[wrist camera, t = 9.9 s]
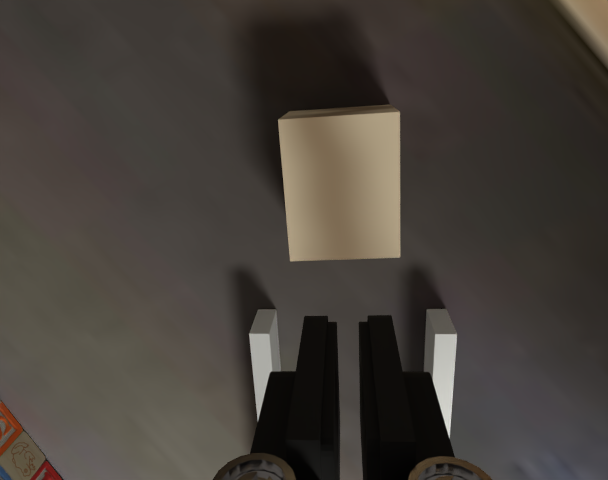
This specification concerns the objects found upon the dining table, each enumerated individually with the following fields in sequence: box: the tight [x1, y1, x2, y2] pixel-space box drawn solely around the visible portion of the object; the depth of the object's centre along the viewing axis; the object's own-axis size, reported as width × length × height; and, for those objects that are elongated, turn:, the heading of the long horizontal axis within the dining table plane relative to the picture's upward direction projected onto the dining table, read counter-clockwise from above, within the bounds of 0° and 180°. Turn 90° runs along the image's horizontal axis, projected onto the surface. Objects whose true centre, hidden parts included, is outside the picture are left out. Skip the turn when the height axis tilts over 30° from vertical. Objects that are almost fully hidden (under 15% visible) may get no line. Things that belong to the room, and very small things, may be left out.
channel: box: [249, 309, 457, 439], centre depth 31 cm, size 12×16×3 cm
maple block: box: [278, 105, 400, 261], centre depth 25 cm, size 6×7×5 cm
